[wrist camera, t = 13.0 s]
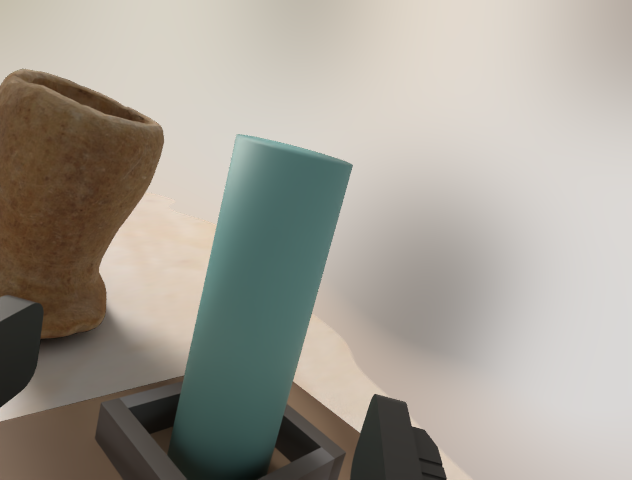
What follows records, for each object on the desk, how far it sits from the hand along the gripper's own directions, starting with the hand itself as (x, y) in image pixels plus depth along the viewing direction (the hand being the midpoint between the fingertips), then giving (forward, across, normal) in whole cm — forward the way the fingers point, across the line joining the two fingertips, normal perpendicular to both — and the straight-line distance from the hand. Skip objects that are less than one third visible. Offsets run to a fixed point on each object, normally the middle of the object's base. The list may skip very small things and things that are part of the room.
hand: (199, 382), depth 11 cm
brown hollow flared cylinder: (+20, +16, +10) cm, 27 cm away
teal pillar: (+8, 0, +9) cm, 12 cm away
